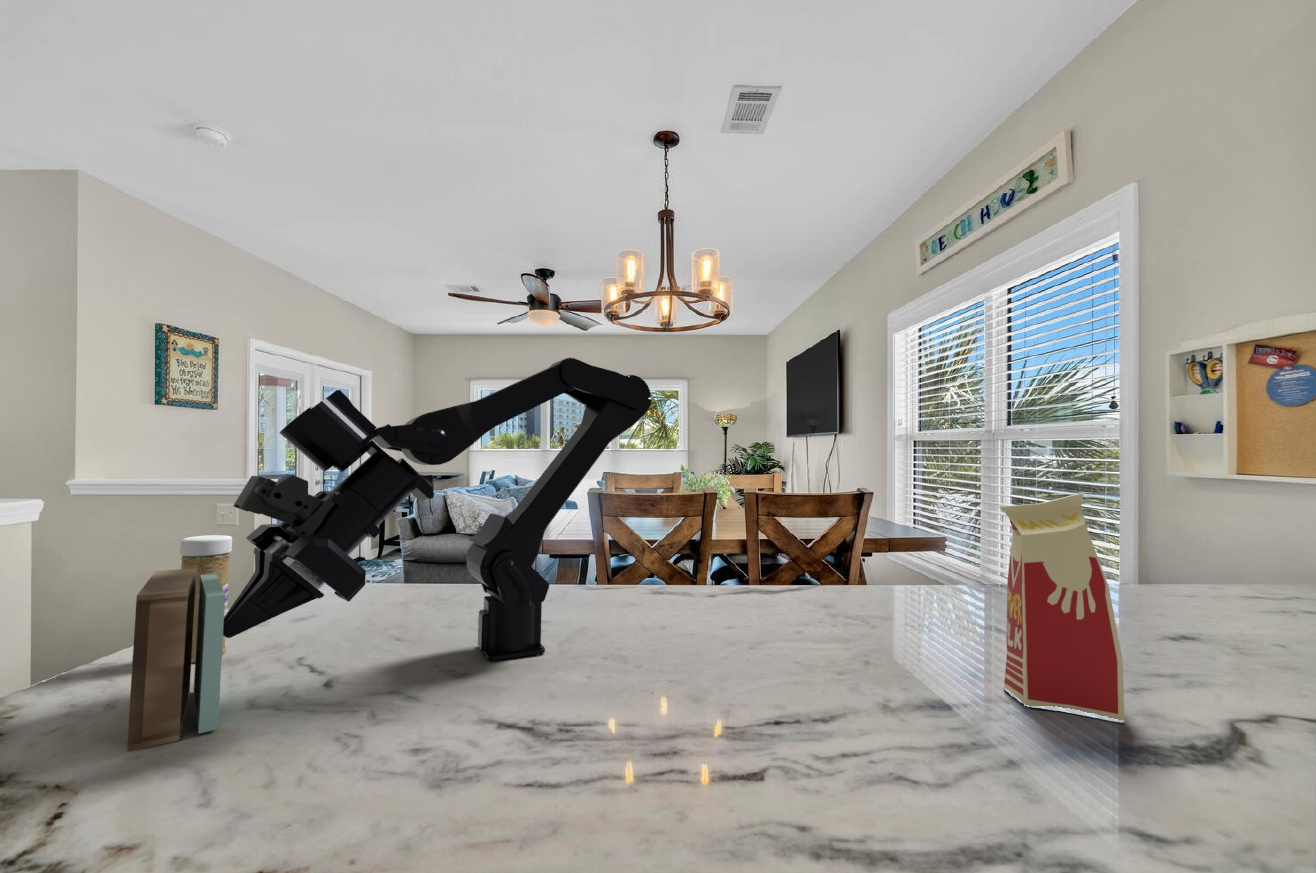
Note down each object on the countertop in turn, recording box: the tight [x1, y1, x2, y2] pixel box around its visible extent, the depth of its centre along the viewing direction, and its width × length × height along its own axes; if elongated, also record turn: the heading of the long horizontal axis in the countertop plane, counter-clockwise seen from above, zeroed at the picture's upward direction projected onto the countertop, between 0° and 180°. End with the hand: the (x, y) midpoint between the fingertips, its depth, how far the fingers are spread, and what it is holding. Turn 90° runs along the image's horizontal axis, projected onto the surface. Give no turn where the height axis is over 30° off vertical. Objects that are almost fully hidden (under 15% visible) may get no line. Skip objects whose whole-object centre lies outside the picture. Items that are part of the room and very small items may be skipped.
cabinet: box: [126, 568, 197, 752], centre depth 48 cm, size 3×12×12 cm, turn 37°
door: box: [193, 574, 225, 734], centre depth 50 cm, size 1×12×11 cm, turn 41°
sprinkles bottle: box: [179, 534, 233, 664], centre depth 63 cm, size 5×5×13 cm
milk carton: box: [998, 492, 1125, 721], centre depth 55 cm, size 9×9×20 cm
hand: (222, 633), depth 49 cm, fingers closed
